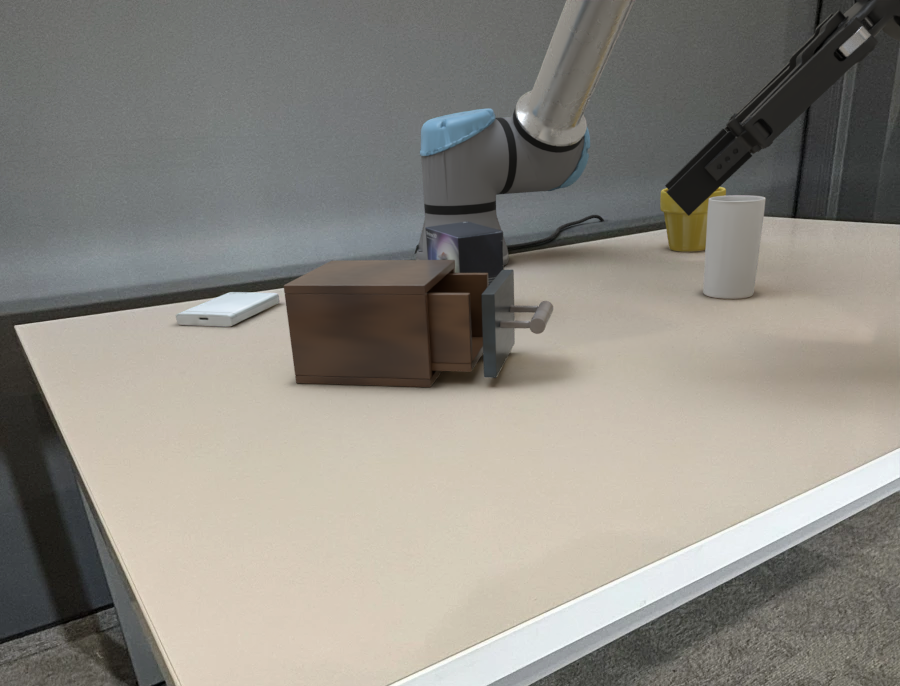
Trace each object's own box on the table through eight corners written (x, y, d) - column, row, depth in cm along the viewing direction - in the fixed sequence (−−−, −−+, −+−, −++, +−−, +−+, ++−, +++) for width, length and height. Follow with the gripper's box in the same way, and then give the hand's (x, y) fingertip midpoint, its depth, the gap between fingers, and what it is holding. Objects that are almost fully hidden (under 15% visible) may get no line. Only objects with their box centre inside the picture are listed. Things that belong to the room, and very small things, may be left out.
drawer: (555, 344, 83) (555, 269, 80) (542, 379, 72) (542, 294, 69) (400, 341, 86) (395, 269, 83) (367, 374, 76) (360, 293, 73)
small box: (426, 307, 105) (422, 225, 100) (471, 300, 107) (468, 220, 103) (459, 324, 96) (455, 235, 91) (507, 316, 98) (506, 229, 94)
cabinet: (458, 349, 86) (455, 259, 82) (430, 387, 75) (424, 285, 71) (340, 347, 89) (331, 260, 85) (295, 383, 78) (283, 285, 74)
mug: (749, 301, 99) (759, 201, 95) (694, 297, 103) (702, 201, 98) (765, 285, 107) (775, 192, 102) (714, 282, 111) (722, 192, 106)
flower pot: (683, 256, 129) (688, 193, 125) (645, 248, 138) (648, 189, 134) (734, 249, 133) (740, 188, 129) (693, 241, 142) (697, 184, 138)
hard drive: (227, 291, 112) (174, 312, 101) (278, 292, 110) (230, 314, 99) (228, 303, 113) (176, 325, 102) (280, 304, 111) (232, 327, 100)
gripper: (1001, -13, 51) (713, 248, 62) (917, 13, 67) (699, 217, 78) (926, -102, 51) (646, 178, 61) (859, -54, 67) (646, 161, 77)
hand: (676, 199), depth 69 cm, fingers open, 5 cm apart
